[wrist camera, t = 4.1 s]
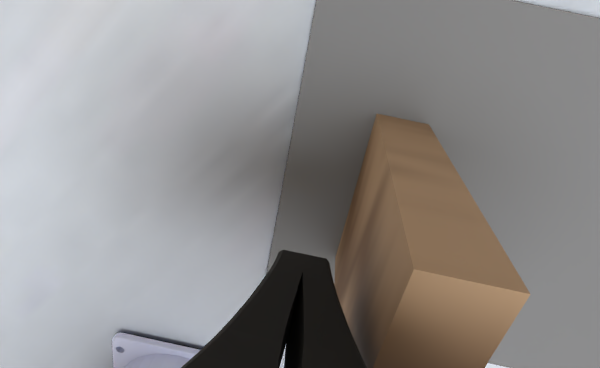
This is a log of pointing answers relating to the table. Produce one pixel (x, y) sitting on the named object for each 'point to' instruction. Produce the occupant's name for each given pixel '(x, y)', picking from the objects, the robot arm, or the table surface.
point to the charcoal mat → (466, 143)
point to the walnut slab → (421, 259)
